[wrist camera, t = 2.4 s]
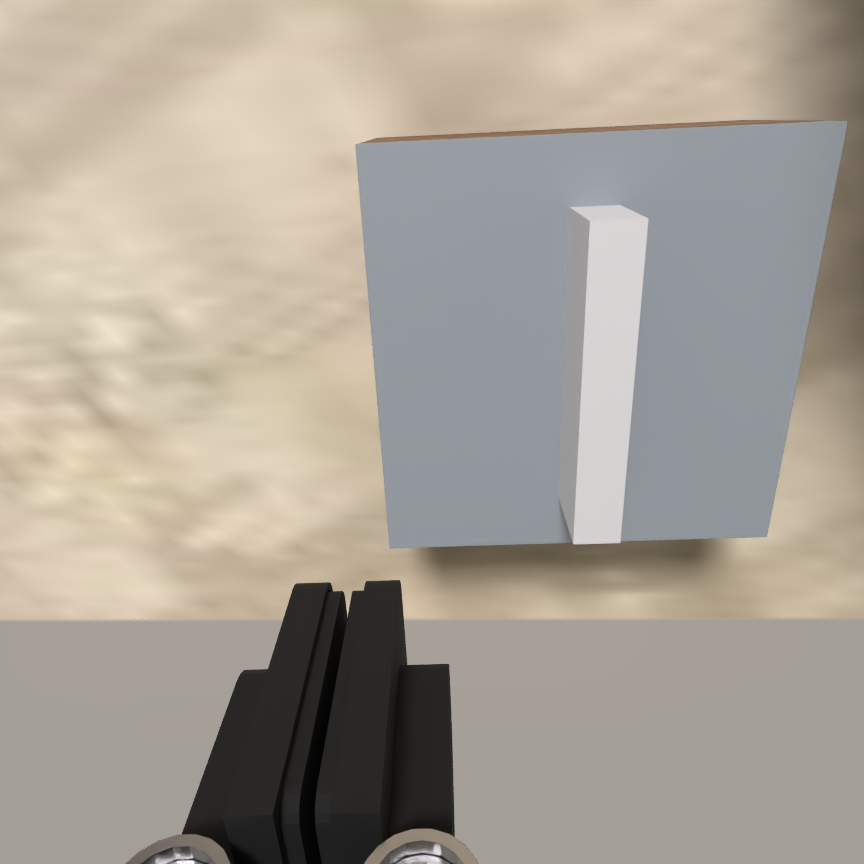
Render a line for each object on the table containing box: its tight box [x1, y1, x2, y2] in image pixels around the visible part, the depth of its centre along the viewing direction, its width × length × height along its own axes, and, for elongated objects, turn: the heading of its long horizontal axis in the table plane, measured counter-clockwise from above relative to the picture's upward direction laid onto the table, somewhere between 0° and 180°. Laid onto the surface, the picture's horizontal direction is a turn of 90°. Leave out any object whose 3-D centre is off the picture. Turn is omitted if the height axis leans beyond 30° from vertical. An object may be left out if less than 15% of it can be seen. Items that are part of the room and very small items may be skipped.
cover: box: [356, 121, 848, 548], centre depth 21 cm, size 14×14×4 cm
